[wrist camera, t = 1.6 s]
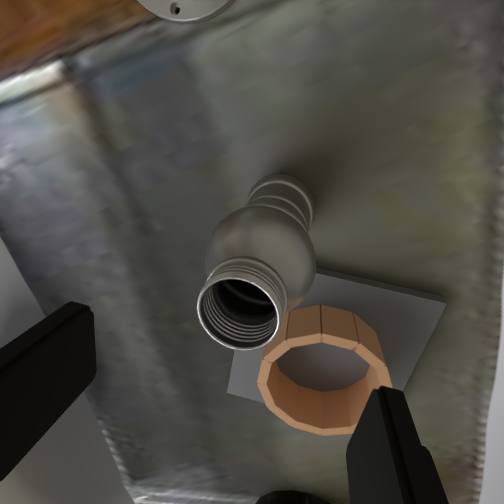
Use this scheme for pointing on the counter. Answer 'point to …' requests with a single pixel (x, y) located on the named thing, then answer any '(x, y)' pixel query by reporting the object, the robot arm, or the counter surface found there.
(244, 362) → the duct base
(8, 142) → the counter surface
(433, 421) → the counter surface
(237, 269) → the plastic bottle
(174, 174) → the counter surface
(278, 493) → the beer stein
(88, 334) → the robot arm
